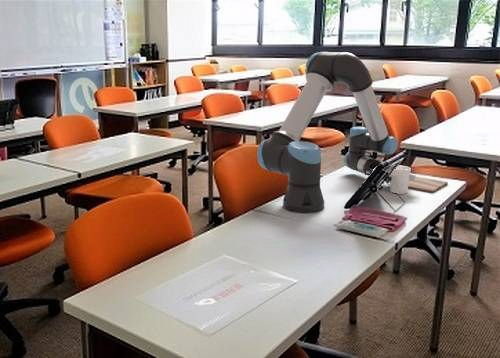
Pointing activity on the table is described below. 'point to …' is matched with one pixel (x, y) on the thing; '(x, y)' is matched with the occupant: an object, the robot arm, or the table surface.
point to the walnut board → (426, 184)
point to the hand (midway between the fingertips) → (406, 179)
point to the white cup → (401, 179)
